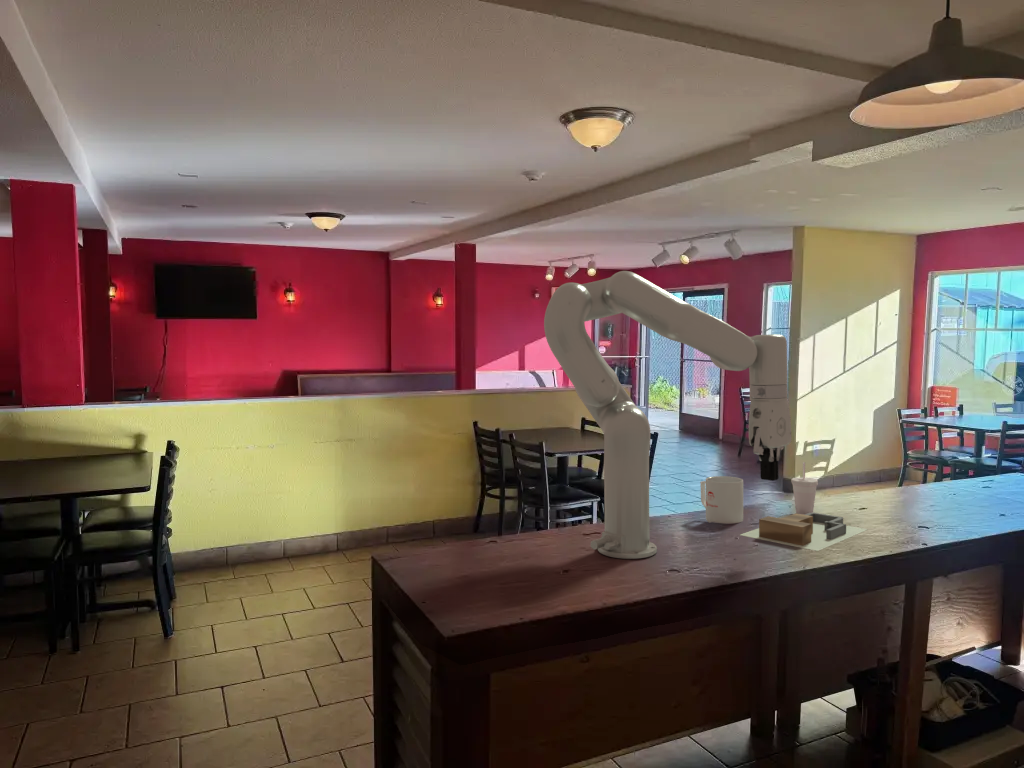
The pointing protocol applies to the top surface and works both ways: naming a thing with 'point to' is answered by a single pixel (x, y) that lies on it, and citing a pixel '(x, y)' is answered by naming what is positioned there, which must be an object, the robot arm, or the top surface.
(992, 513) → the top surface
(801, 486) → the smoothie
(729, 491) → the mug
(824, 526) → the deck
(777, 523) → the t block
